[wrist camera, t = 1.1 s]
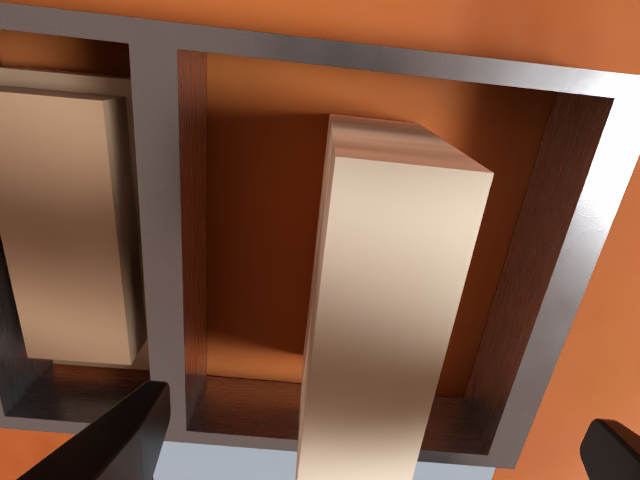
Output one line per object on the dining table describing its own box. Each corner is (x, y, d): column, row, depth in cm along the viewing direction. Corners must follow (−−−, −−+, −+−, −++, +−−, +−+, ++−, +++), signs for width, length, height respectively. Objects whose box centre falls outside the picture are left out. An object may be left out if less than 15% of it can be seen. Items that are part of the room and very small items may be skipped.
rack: (486, 410, 19) (514, 469, 16) (26, 371, 18) (-26, 426, 16) (599, 75, 14) (669, 78, 11) (-50, 1, 13) (-151, -16, 10)
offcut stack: (167, 347, 18) (139, 398, 16) (73, 340, 18) (29, 390, 16) (149, 77, 14) (107, 82, 11) (27, 66, 14) (-44, 68, 11)
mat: (464, 532, 22) (467, 542, 22) (159, 510, 22) (156, 519, 21) (499, 435, 20) (504, 443, 19) (153, 406, 19) (149, 414, 19)
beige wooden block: (372, 360, 18) (400, 523, 12) (303, 354, 18) (292, 515, 12) (417, 122, 14) (494, 172, 8) (329, 113, 14) (335, 156, 8)
